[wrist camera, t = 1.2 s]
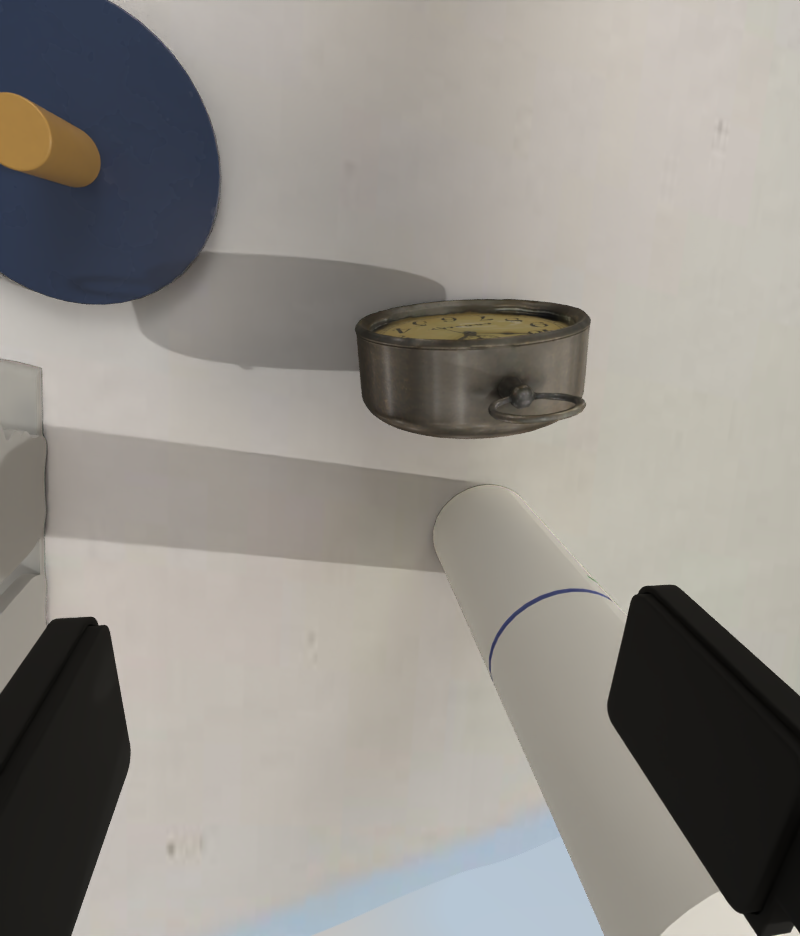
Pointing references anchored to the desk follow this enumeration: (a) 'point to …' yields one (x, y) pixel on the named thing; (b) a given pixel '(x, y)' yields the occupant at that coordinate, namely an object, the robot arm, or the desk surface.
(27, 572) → the grey metal bookend
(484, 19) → the desk surface
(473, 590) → the cylindrical container
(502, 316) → the alarm clock
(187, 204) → the tin lid
